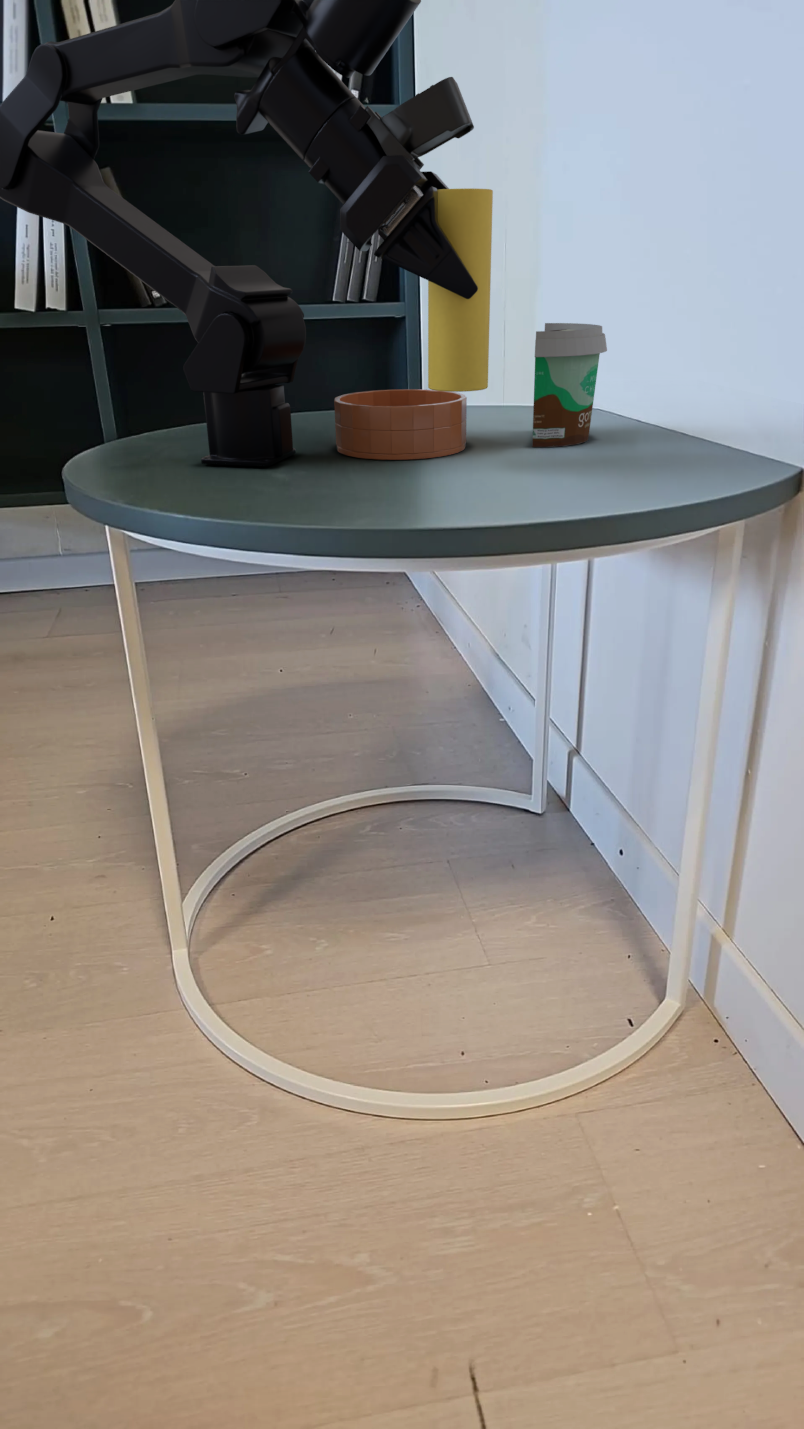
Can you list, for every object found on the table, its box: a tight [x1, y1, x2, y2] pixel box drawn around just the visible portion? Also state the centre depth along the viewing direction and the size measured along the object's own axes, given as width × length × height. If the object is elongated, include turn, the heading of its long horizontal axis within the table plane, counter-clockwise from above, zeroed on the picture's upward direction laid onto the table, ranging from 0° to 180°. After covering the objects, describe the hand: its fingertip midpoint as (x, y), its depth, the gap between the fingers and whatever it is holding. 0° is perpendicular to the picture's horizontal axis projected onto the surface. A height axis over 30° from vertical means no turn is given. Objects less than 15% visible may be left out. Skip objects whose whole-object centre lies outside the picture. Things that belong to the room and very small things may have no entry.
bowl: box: [333, 388, 468, 461], centre depth 89 cm, size 12×12×4 cm
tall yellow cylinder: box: [427, 188, 494, 393], centre depth 74 cm, size 5×5×14 cm
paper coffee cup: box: [531, 322, 608, 448], centre depth 90 cm, size 12×6×10 cm, turn 168°
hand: (476, 293), depth 74 cm, fingers closed on tall yellow cylinder, 5 cm apart
